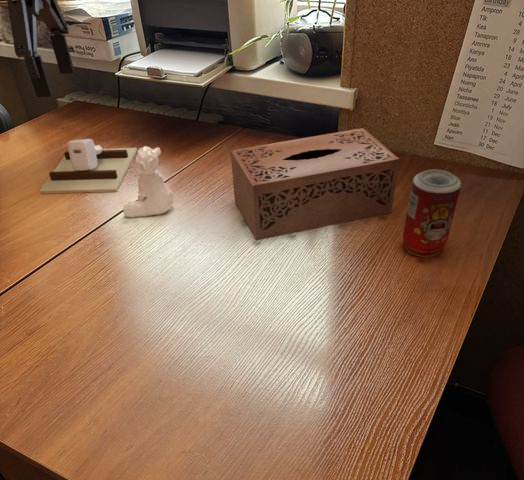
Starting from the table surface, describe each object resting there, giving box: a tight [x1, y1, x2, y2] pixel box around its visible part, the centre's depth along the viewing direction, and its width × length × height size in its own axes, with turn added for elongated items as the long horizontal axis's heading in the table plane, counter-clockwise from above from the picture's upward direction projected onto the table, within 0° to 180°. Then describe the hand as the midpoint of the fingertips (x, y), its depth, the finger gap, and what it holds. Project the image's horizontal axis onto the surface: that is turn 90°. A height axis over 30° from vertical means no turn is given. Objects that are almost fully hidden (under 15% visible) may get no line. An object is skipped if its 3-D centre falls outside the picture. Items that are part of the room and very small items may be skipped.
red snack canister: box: [402, 168, 462, 258], centre depth 79 cm, size 7×7×12 cm
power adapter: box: [67, 138, 104, 171], centre depth 107 cm, size 11×5×6 cm, turn 178°
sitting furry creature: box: [122, 145, 174, 219], centre depth 92 cm, size 10×9×12 cm
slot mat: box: [39, 147, 138, 195], centre depth 109 cm, size 16×20×2 cm
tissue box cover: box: [230, 127, 400, 241], centre depth 91 cm, size 26×14×10 cm, turn 107°
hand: (56, 84), depth 97 cm, fingers open, 13 cm apart
